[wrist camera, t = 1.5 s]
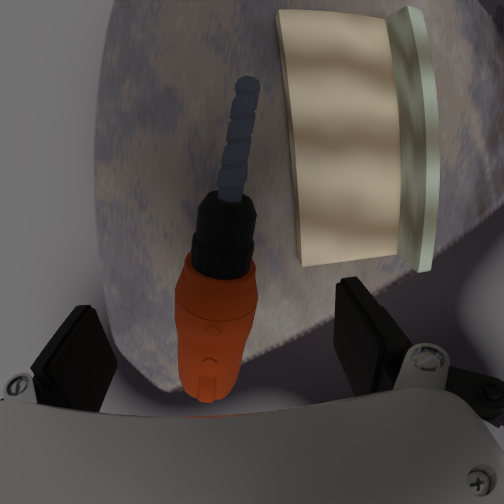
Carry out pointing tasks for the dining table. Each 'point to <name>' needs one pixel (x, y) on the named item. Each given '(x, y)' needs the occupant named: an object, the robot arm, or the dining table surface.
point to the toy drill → (220, 268)
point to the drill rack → (361, 135)
